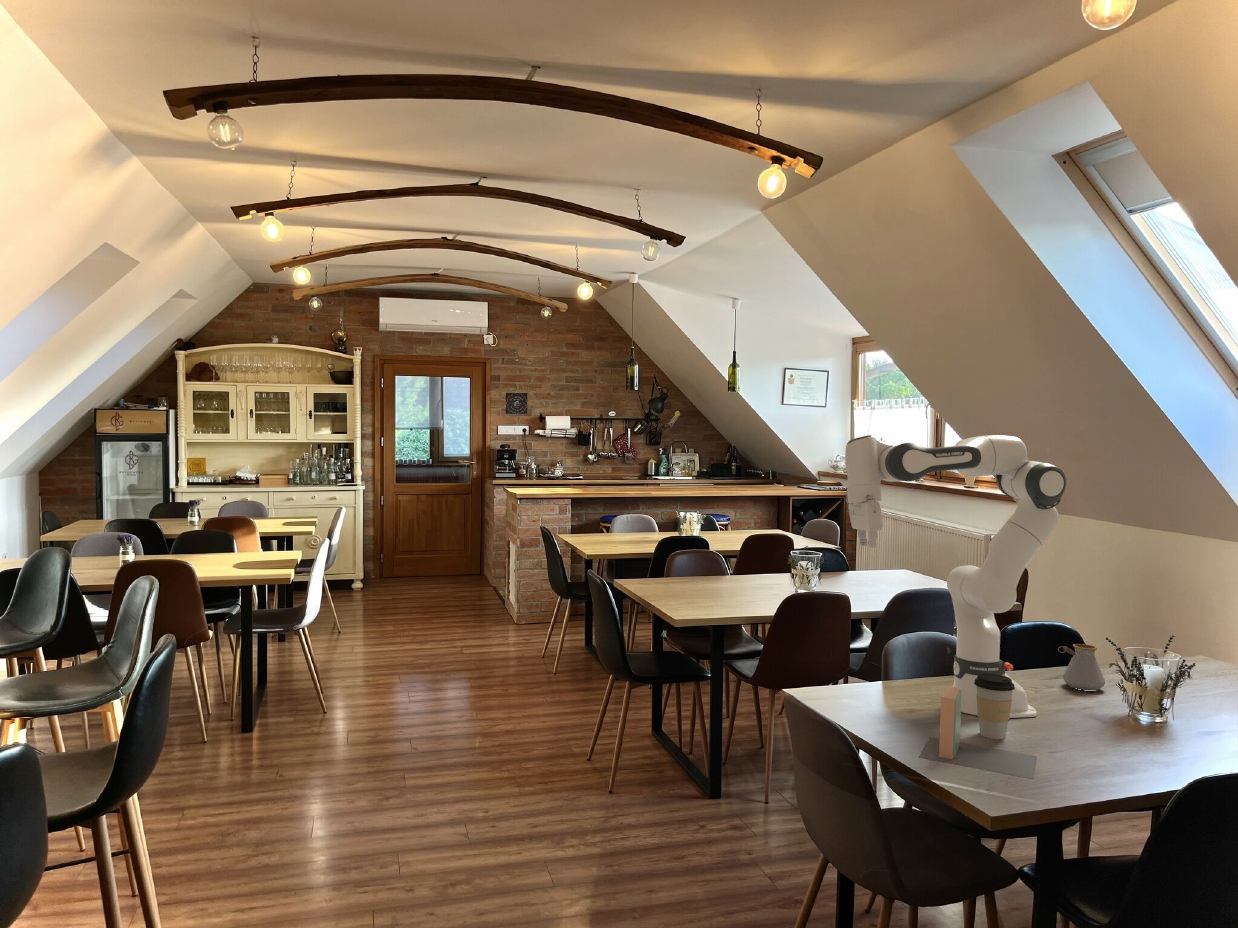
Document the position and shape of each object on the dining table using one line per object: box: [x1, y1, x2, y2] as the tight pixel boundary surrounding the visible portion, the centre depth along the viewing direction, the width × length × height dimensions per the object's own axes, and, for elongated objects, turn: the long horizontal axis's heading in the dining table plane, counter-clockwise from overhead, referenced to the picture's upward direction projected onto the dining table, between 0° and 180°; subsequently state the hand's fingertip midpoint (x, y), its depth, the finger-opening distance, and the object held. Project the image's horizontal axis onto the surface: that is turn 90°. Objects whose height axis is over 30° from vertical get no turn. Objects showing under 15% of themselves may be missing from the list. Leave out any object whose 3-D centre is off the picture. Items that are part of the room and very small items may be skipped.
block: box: [939, 686, 962, 759], centre depth 203 cm, size 3×10×14 cm, turn 151°
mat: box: [918, 736, 1038, 780], centre depth 200 cm, size 24×16×1 cm, turn 61°
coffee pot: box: [1057, 643, 1106, 690], centre depth 259 cm, size 21×12×15 cm, turn 128°
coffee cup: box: [974, 673, 1015, 740], centre depth 216 cm, size 9×9×15 cm
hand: (867, 546), depth 232 cm, fingers open, 8 cm apart
